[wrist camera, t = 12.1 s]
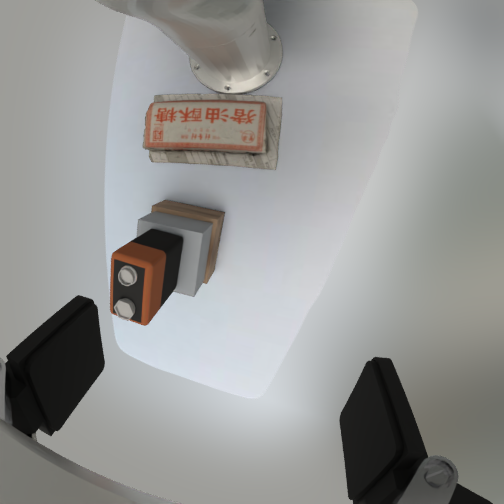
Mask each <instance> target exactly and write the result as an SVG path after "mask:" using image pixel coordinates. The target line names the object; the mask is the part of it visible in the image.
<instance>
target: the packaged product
mask: <svg viewBox="0 0 504 504" xmlns="http://www.w3.org/2000/svg"><path fill="white" fill-rule="evenodd" d="M281 117H282V98H279V97H269V96H253V95H235V94H204V95H201V94H182V95H156V96H154V103H151V104H150V106H149V108H148V111H147V113H146V117H145V126H146V128H145V130H144V142H143V148H145V149H148V150H150V151H149V158H150V160H151V162H157V163H188V164H208V165H224V166H239V167H249V168H259V169H272V170H276V164H277V159H278V141H279V135H280V127H281Z"/></svg>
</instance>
